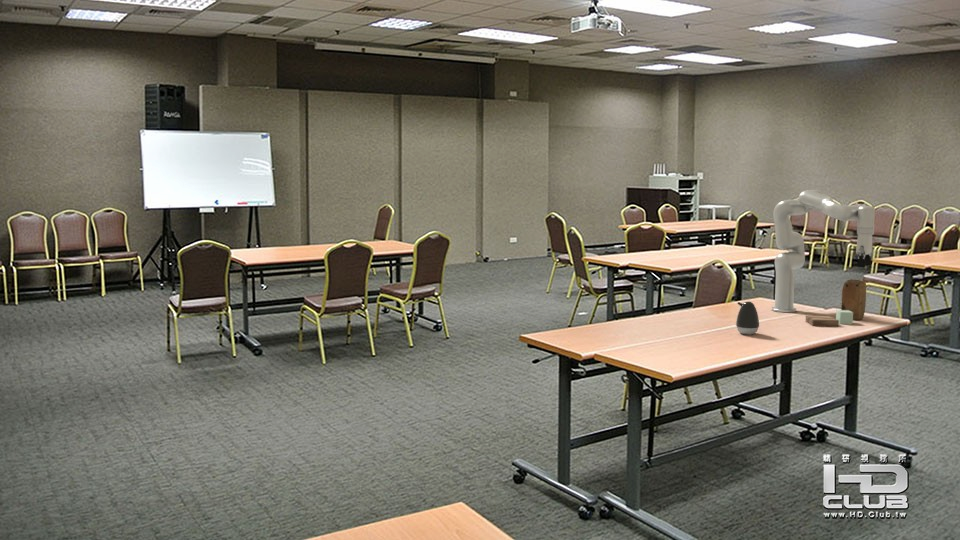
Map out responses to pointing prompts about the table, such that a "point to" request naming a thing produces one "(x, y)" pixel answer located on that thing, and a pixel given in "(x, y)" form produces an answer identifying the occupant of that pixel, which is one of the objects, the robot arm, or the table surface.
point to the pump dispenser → (747, 319)
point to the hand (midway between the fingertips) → (864, 266)
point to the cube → (844, 316)
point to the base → (822, 321)
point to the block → (854, 298)
